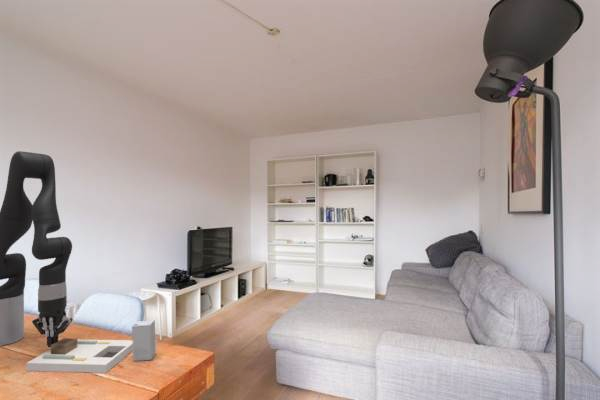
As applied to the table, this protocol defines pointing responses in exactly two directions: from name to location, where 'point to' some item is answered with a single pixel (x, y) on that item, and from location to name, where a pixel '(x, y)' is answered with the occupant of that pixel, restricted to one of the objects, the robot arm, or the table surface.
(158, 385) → the table surface
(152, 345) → the skincare box
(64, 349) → the walnut block
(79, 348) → the board
